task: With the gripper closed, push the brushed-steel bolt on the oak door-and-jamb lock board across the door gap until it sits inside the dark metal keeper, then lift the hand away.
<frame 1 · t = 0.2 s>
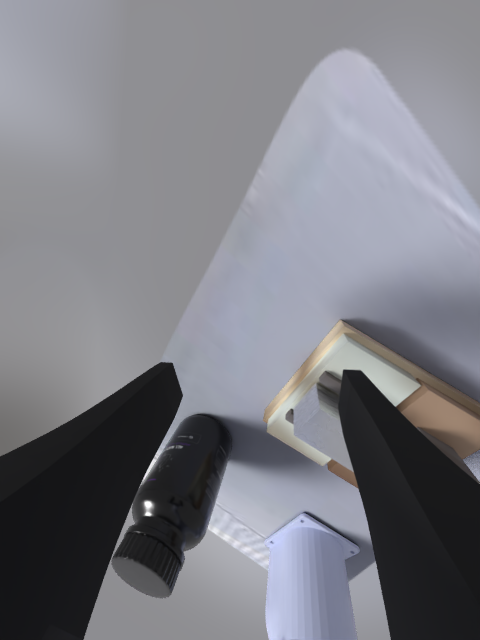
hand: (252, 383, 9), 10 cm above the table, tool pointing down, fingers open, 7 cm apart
lock board: (358, 406, 20), on the table
bolt: (334, 425, 16), point 5 cm above the table, slide at 0.0 cm
supplement bottle: (206, 434, 26), on the table
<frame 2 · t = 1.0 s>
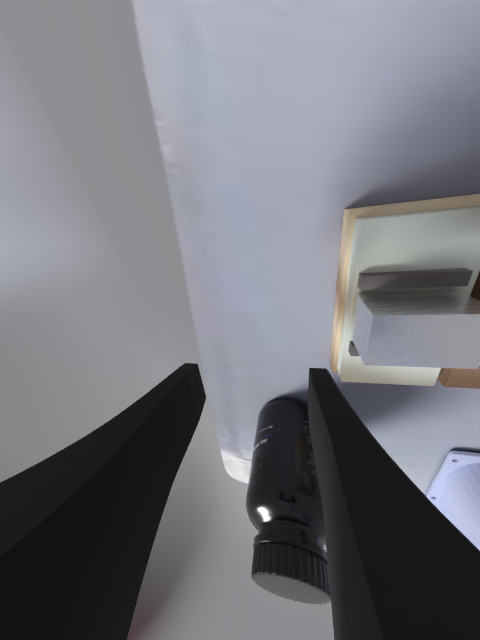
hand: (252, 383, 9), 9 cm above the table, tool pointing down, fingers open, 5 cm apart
lock board: (437, 294, 15), on the table
bolt: (411, 328, 12), point 5 cm above the table, slide at 0.0 cm
supplement bottle: (289, 417, 23), on the table
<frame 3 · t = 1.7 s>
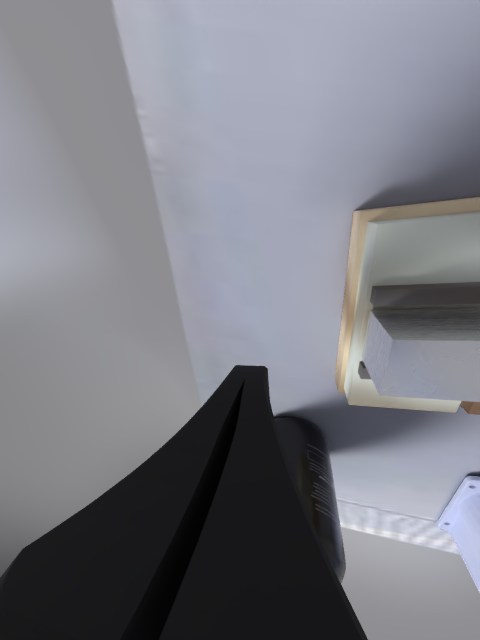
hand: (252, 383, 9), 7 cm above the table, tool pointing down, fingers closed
lock board: (459, 308, 13), on the table
bolt: (435, 351, 10), point 5 cm above the table, slide at 0.0 cm
supplement bottle: (290, 435, 22), on the table
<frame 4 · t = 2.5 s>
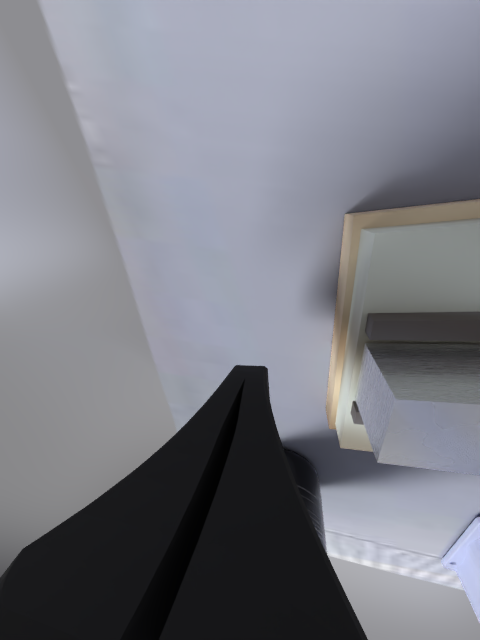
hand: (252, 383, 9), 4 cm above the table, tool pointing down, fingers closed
lock board: (475, 334, 10), on the table
bolt: (452, 404, 7), point 5 cm above the table, slide at 0.0 cm
supplement bottle: (277, 465, 19), on the table
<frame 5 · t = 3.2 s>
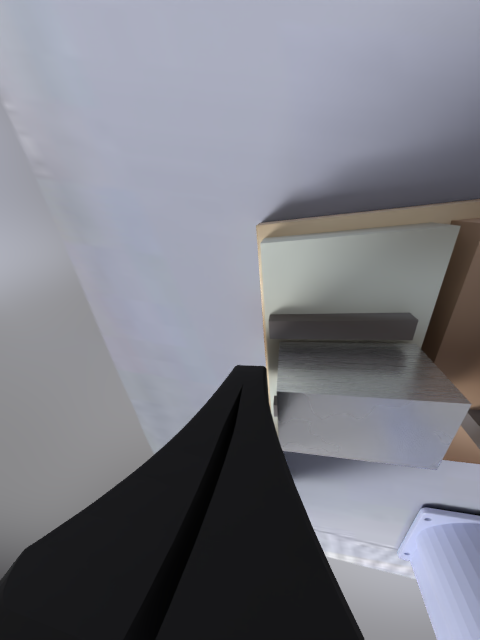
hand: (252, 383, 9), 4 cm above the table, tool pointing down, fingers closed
lock board: (391, 333, 11), on the table
bolt: (347, 397, 8), point 5 cm above the table, slide at 0.4 cm, touching gripper
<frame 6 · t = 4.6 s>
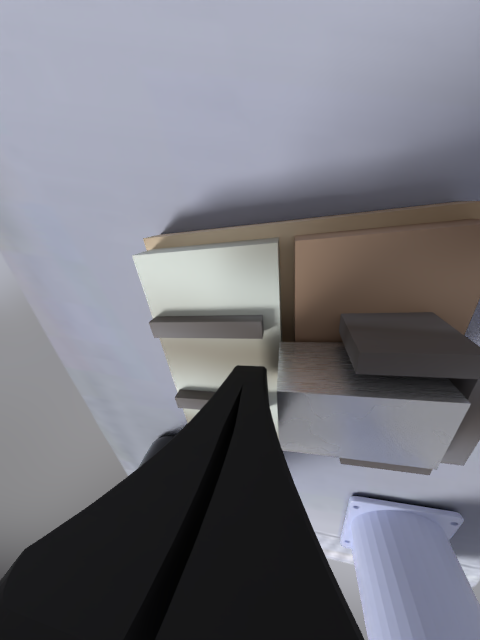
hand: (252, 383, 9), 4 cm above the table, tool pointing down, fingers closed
lock board: (288, 333, 12), on the table
bolt: (347, 397, 8), point 5 cm above the table, slide at 5.7 cm, touching gripper
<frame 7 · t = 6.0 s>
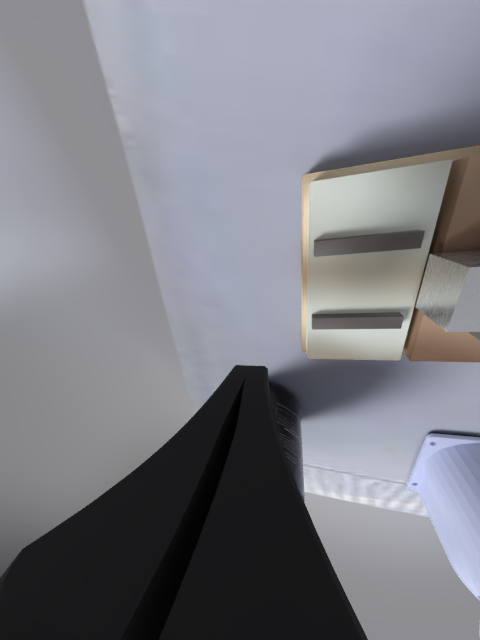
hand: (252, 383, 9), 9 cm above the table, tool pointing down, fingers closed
lock board: (402, 266, 14), on the table
supplement bottle: (266, 402, 23), on the table
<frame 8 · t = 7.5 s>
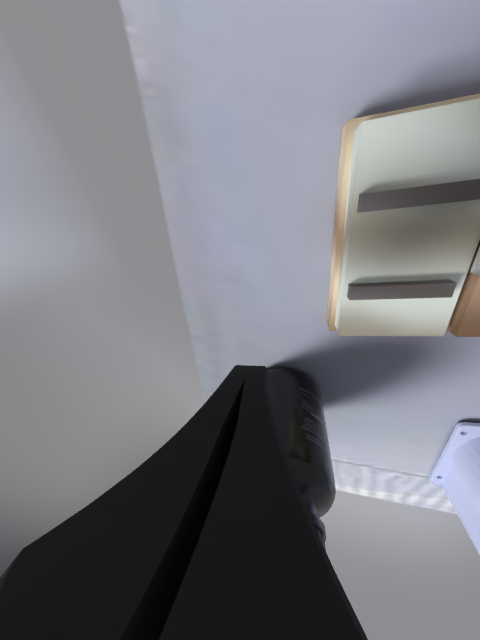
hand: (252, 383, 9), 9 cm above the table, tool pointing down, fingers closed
lock board: (447, 233, 13), on the table
supplement bottle: (284, 390, 22), on the table
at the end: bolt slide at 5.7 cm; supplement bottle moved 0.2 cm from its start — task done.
